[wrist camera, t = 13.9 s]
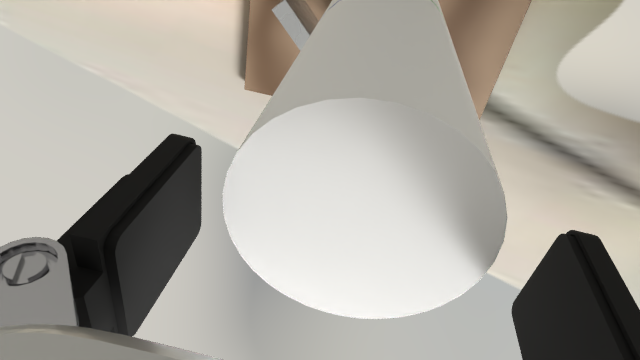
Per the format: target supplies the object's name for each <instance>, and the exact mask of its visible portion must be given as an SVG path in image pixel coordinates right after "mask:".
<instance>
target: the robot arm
mask: <svg viewBox="0 0 640 360" xmlns="http://www.w3.org/2000/svg"><path fill="white" fill-rule="evenodd" d="M200 227H201V147H200V146H199V145H196V143H195V140H194V139H193V138H189V137H185V136H181V135H177V134H170V135H169V136H168V137H167V138H166V139H165V140H164V141H163V142H162V143H161V144H160V145H159V146H158V147H157V148H156V149H155V150H154V151H153V152H152V153H151V154H150V155H149V156H148V157H147V158H146V159H144V161H142V162H141V163H140V165H138V166H137V167H136V168H135V169H134V170H133V171H132V172H131V173H130V174H129V175H125V176H124V177H122V178H121V179H120V180H119V181H118V182H117V183H116V184H115V185H114V186H113V187H112V188H111V189H110V190H109V191H108V192H107V193H106V194H105V195H104V196H103V197H102V198H100V199H99V200H98V201H97V202H96V203H95V204H94V205H93V207H91V208H90V209H89V210H88V211H87V212H86V213H85V214H84V215H83V216H82V217H81V218H80V219H79V220H78V221H77V222H76V223H75V224H74V225H73V226H72V227H71V228H70V229H69V230H68V231H66V232H65V233H64V234H63V235H62V236H61V237H60V239H58V240H57V241H55V240H52V239H49V238H41V237H32V238H24V239H20V240H17V241H13V242H10V243H8V244H6V245H4V246H2V247H0V360H223V359H218V358H215V357H211V356H208V355H204V354H200V353H196V352H192V351H188V350H184V349H180V348H176V347H172V346H168V345H164V344H160V343H155V342H151V341H147V340H143V339H139V338H135V337H132V336H133V335H134V334H135V333H136V332H137V330H138V329H139V327H140V326H141V324H142V323H143V321H144V319H145V318H146V316H147V315H148V313H149V311H150V309H151V308H152V307H153V305H154V304H155V302H156V300H157V299H158V297H159V296H160V294H161V292H162V291H163V289H164V288H165V286H166V284H167V283H168V281H169V280H170V278H171V277H172V275H173V273H174V272H175V270H176V268H177V267H178V265H179V264H180V262H181V261H182V259H183V258H184V256H185V254H186V253H187V251H188V249H189V248H190V246H191V245H192V243H193V242H194V240H195V239H196V237H197V235H198V233H199V230H200ZM512 317H513V321H514V325H515V329H516V333H517V338H518V342H519V346H520V350H521V354H522V358H523V360H640V310H639V308H638V306H637V305H636V303H635V301H634V299H633V297H632V296H631V294H630V292H629V290H628V288H627V287H626V285H625V283H624V281H623V279H622V278H621V276H620V274H619V272H618V270H617V269H616V267H615V265H614V263H613V261H612V260H611V258H610V256H609V254H608V252H607V251H606V249H605V247H604V245H603V243H602V242H601V240H600V239H599V237H598V236H595V235H592V234H588V233H583V232H579V231H575V230H570V231H569V232H567V233H566V234H560V235H559V236H558V237H557V238H556V240H555V241H554V243H553V244H552V246H551V247H550V249H549V250H548V252H547V253H546V255H545V256H544V258H543V259H542V261H541V262H540V264H539V265H538V267H537V268H536V270H535V271H534V273H533V274H532V276H531V277H530V278H529V280H528V281H527V283H526V284H525V286H524V287H523V289H522V290H521V292H520V293H519V295H518V296H517V298H516V299H515V301H514V303H513V306H512Z"/></svg>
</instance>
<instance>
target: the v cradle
mask: <svg viewBox="0 0 640 360" xmlns="http://www.w3.org/2000/svg"><path fill="white" fill-rule="evenodd" d="M331 1H332V0H250V11H249V27H248V42H247V58H246V74H245V90H249V91H254V92H258V93H263V94H267V95H271V96H273V94H274V93H275V91H276V89H277V88H278V86H279V85H280V83H281V81H282V80H283V78H284V77H285V75H286V74H287V72H288V70H289V69H290V67H291V66H292V64H293V62H294V61H295V59H296V58H297V56H298V54H299V53H300V51H301V49H302V48H303V46H304V45H305V43H306V41H307V40H308V38H309V37H310V35H311V33H312V32H313V30H314V28H315V27H316V25H317V24H318V22H319V20H320V19H321V17H322V16H323V14H324V13H325V11H326V9H327V8H328V6H329V5H330V3H331ZM438 1H439V4H440V7H441V10H442V13H443V16H444V19H445V22H446V25H447V28H448V30H449V33H450V36H451V39H452V42H453V45H454V48H455V51H456V54H457V57H458V60H459V63H460V66H461V68H462V71H463V74H464V77H465V80H466V83H467V86H468V89H469V92H470V95H471V98H472V101H473V104H474V106H475V109H476V112H477V115H478V118H479V120H480V117H481V115H482V113H483V110H484V108H485V106H486V104H487V101H488V99H489V97H490V94H491V92H492V90H493V87H494V85H495V83H496V81H497V78H498V76H499V74H500V71H501V69H502V67H503V64H504V62H505V60H506V58H507V55H508V53H509V51H510V48H511V46H512V44H513V41H514V39H515V37H516V35H517V32H518V30H519V28H520V25H521V23H522V21H523V18H524V16H525V14H526V12H527V9H528V7H529V5H530V2H531V0H438Z"/></svg>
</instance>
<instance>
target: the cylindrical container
mask: <svg viewBox="0 0 640 360" xmlns="http://www.w3.org/2000/svg"><path fill="white" fill-rule="evenodd" d="M222 197H223V210H224V219H225V222H226V225H227V228H228V231H229V234H230V237H231V239H232V241H233V243H234V245H235V246H236V248H237V250H238V252H239V253H240V255H241V256H242V258H243V259H244V260H245V261H246V262H247V264H248V265H249V266H250V267H251V268H252V270H253V271H254V272H255V273H256V274H258V275H259V276H260V277H261V278H262V279H263V280H264V281H265V282H267V283H268V284H269V285H271V286H272V287H274V288H275V289H277V290H278V291H280V292H281V293H283V294H284V295H286V296H287V297H290V298H292V299H294V300H296V301H298V302H300V303H302V304H304V305H306V306H309V307H312V308H315V309H318V310H321V311H324V312H328V313H330V314H336V315H341V316H347V317H352V318H369V319H385V318H396V317H404V316H409V315H414V314H418V313H423V312H426V311H428V310H431V309H434V308H437V307H439V306H442V305H444V304H446V303H448V302H449V301H451V300H453V299H455V298H457V297H459V296H460V295H462V294H463V293H465V292H466V291H467V290H468V289H470V288H471V287H472V286H473V285H474V284H476V283H477V282H478V281H479V280H480V279H481V278H482V277H483V276H484V274H485V273H486V272H487V270H488V269H489V268H490V267H491V265H492V264H493V263H494V262H495V259H496V257H497V255H498V253H499V250H500V248H501V246H502V244H503V241H504V237H505V230H506V223H507V211H506V203H505V195H504V191H503V188H502V185H501V183H500V180H499V177H498V174H497V171H496V168H495V165H494V162H493V159H492V156H491V153H490V150H489V147H488V145H487V142H486V139H485V136H484V133H483V130H482V127H481V124H480V121H479V118H478V115H477V112H476V109H475V106H474V104H473V101H472V98H471V95H470V92H469V89H468V86H467V83H466V80H465V77H464V74H463V71H462V68H461V66H460V63H459V60H458V57H457V54H456V51H455V48H454V45H453V42H452V39H451V36H450V33H449V30H448V28H447V25H446V22H445V19H444V16H443V13H442V10H441V7H440V4H439V1H438V0H332V1H331V3H330V5H329V6H328V8H327V9H326V11H325V13H324V14H323V16H322V17H321V19H320V20H319V22H318V24H317V25H316V27H315V28H314V30H313V32H312V33H311V35H310V37H309V38H308V40H307V41H306V43H305V45H304V46H303V48H302V49H301V51H300V53H299V54H298V56H297V58H296V59H295V61H294V62H293V64H292V66H291V67H290V69H289V70H288V72H287V74H286V75H285V77H284V78H283V80H282V81H281V83H280V85H279V86H278V88H277V89H276V91H275V93H274V94H273V96H272V97H271V99H270V100H269V102H268V104H267V105H266V107H265V108H264V110H263V112H262V113H261V115H260V116H259V118H258V120H257V121H256V123H255V124H254V126H253V127H252V129H251V131H250V132H249V134H248V135H247V137H246V139H245V140H244V142H243V143H242V145H241V147H240V148H239V150H238V152H237V153H236V155H235V157H234V159H233V162H232V163H231V165H230V167H229V170H228V172H227V174H226V180H225V185H224V190H223V195H222Z"/></svg>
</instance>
